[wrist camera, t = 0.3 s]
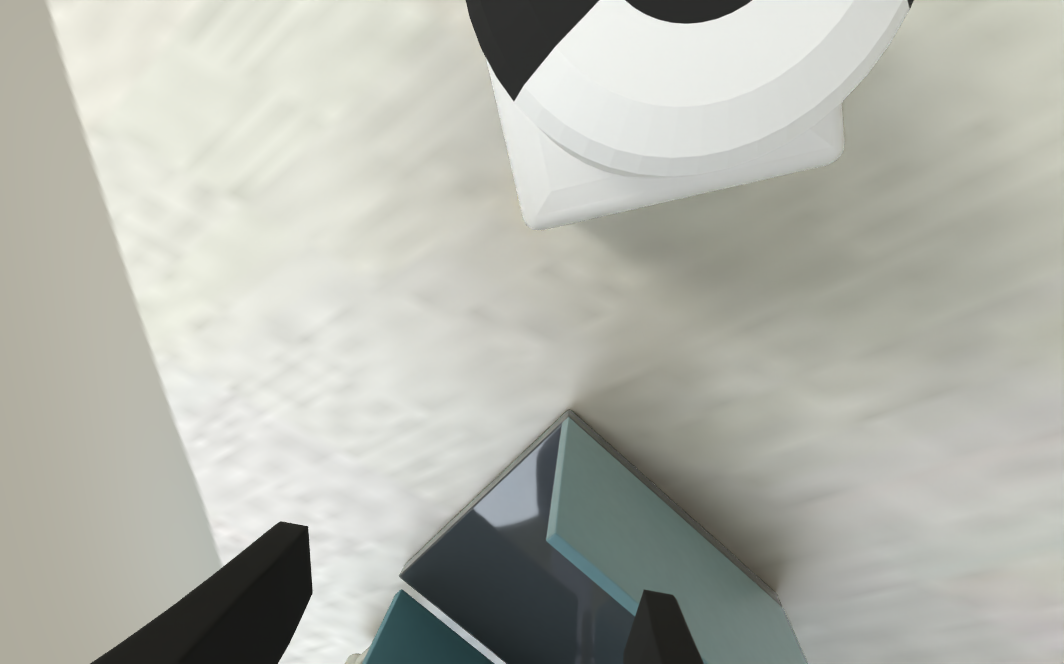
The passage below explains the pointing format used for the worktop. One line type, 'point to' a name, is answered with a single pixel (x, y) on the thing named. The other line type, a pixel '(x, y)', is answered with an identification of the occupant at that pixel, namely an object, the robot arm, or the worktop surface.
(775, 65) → the medicine bottle
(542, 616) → the teal open box
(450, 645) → the teal shelf
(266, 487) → the worktop surface
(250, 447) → the worktop surface
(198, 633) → the robot arm
